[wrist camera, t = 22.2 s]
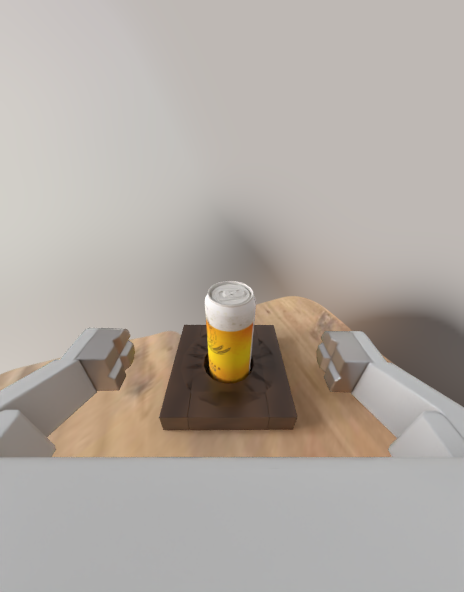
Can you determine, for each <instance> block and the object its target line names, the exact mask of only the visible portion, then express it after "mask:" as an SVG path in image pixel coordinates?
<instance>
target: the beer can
mask: <svg viewBox="0 0 464 592" xmlns="http://www.w3.org/2000/svg"><path fill="white" fill-rule="evenodd" d="M255 309H256V299H255V297H254V294H253V290H252V289H251V288H250V287H249V286H248V285H246V284H244V283H241V282H235V281H224V282H220V283H217V284H215V285H213V286H211V287H210V289H209V290H208V294H207V296H206V298H205V313H206V327H207V341H208V355H209V369H210V376H211V378H212V379H213V380H215V381H218V382H221V383H237V382H239V381H242V380H244V379H245V378H246V377H247V376H248V375H249V374H250V363H251V352H252V341H253V331H254V320H255Z"/></svg>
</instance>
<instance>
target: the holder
mask: <svg viewBox="0 0 464 592" xmlns="http://www.w3.org/2000/svg"><path fill="white" fill-rule="evenodd" d="M208 365H209V355H208V341H207V327H206V325H184V327H183V331H182V335H181V338H180V342H179V346H178V349H177V353H176V357H175V361H174V364H173V368H172V372H171V375H170V379H169V383H168V387H167V390H166V394H165V398H164V401H163V405H162V409H161V413H160V416H159V418H160V421H161V424H162V427H163V430H284V429H293V428H294V425H295V422H296V419H297V414H296V410H295V406H294V403H293V399H292V395H291V391H290V387H289V383H288V379H287V375H286V372H285V368H284V364H283V360H282V356H281V352H280V348H279V344H278V341H277V337H276V333H275V329H274V325H254V331H253V341H252V352H251V363H250V368H251V370H252V371H251V373H250V374H249V375H248V376H247V377H246V378H245V379H244V380H242V381H239V382H237V383H221V382H218V381H215V380H213V379H212V378H211V377H210V376H209V375H208V374H207V373H206V369H207V367H208Z"/></svg>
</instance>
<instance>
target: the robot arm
mask: <svg viewBox="0 0 464 592" xmlns="http://www.w3.org/2000/svg"><path fill="white" fill-rule="evenodd" d="M129 337H130V334H129V331H128V330H127V329H113V328H88V329H86V330H84V331H83V333H82V334H81V335H80V336H79V337H78V338H77V340H76V341H75V342H74V343H73V344H72V346H71V347H70V348H69V349H68V350H67V352H66V353H65V354H64V355H63V356H62V357H61V359H60V360H54V361H52V362H50V363H49V364H47V365H45V366H43V367H42V368H40V369H38V370H36V371H34V372H33V373H31V374H29V375H27V376H26V377H24V378H22V379H20V380H18V381H17V382H15V383H13V384H11V385H10V386H8V387H6V388H4V389H3V390H1V391H0V592H464V407H462V406H460V405H459V404H457V403H456V402H454V401H452V400H451V399H449V398H448V397H446V396H444V395H443V394H441V393H439V392H438V391H436V390H435V389H433V388H431V387H430V386H428V385H426V384H425V383H423V382H422V381H420V380H418V379H417V378H415V377H414V376H412V375H410V374H408V373H407V372H405V371H404V370H402V369H401V368H399V367H397V366H396V365H394V364H392V363H387V362H386V360H385V359H384V358H383V356H382V355H381V354H380V352H379V351H378V350H377V349H376V347H375V346H374V345H373V343H372V342H371V341H370V340H369V338H368V337H367V336H366V334H365V333H363V332H362V331H349V332H348V331H325V332H324V333H323V334H322V337H321V339H322V341H323V343H321V344H320V345H319V346H318V349H317V361H318V364H319V367H320V368H321V369H322V370H323V371H324V372H325V375H324V379H325V381H326V383H327V386H328V388H329V390H330V392H352V393H351V394H352V395H353V396H354V397H355V398H356V399H357V400H358V401H359V402H361V403H362V404H363V405H364V406H365V407H366V408H367V409H368V410H369V411H370V412H371V413H372V414H373V415H374V416H375V417H376V418H377V419H378V420H379V421H380V422H381V423H382V424H383V425H384V426H385V427H386V428H387V429H388V430H389V431H390V432H391V433H392V434H394V435H395V436H396V437H397V439H396V440H395V441H394V442H393V443H392V444H391V445H390V446H389V449H388V450H389V452H390V454H391V456H392V457H52V455H53V453H54V452H55V450H56V449H55V445H54V444H53V443H52V442H51V441H50V440H49V439H48V438H47V437H48V436H49V435H50V434H51V433H52V432H53V431H54V430H55V429H57V428H58V427H59V426H60V425H61V424H62V423H63V422H64V421H65V420H67V419H68V418H69V417H70V416H71V415H72V414H73V413H74V412H75V411H77V410H78V409H79V408H80V407H81V406H82V405H83V404H84V403H85V402H87V401H88V400H89V399H90V398H91V397H92V396H93V395H94V394H95V393H97V391H114V390H120V388H121V385H122V383H123V381H124V379H125V377H126V373H125V370H126V369H127V368H129V367H130V366H131V364H132V362H133V359H134V354H135V351H134V345H133V343H132V342H130V341H129V340H128V339H129Z"/></svg>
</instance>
